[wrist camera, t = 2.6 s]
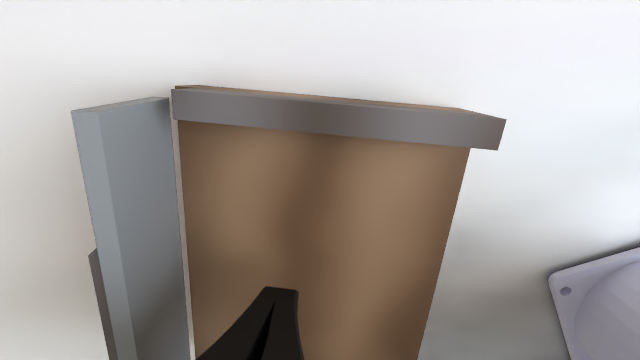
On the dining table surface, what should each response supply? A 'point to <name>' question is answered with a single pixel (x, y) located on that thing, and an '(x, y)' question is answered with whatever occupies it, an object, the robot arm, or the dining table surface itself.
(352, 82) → the dining table surface
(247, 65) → the dining table surface
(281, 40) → the dining table surface
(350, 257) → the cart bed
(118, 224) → the panel
